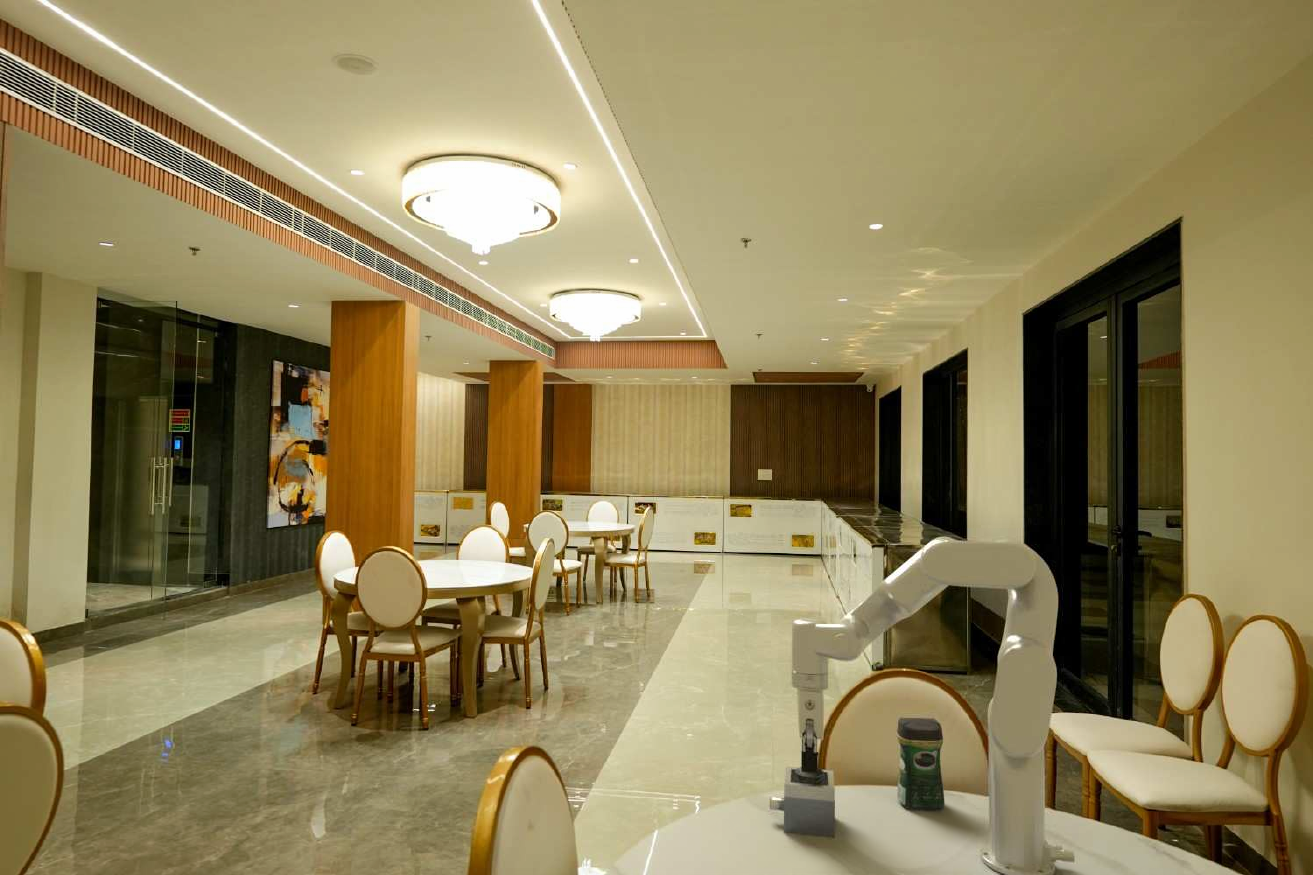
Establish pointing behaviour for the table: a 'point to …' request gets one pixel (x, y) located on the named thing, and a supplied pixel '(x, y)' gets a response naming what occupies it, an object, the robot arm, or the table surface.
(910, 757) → the coffee jar
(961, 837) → the table surface
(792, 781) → the grey open box
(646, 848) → the table surface
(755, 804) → the table surface
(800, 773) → the dark grey turned piece
